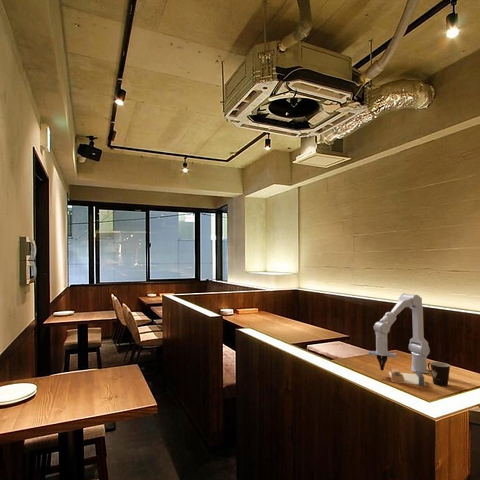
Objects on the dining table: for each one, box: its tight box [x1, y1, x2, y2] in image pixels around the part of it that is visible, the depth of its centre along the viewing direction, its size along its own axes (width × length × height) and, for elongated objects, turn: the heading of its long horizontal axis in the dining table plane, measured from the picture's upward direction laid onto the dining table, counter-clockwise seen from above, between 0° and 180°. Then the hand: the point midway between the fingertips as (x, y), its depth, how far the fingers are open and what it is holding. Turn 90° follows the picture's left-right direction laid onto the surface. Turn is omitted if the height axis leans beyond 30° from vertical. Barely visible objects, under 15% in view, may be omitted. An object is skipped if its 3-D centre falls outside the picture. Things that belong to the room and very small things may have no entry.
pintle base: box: [388, 371, 427, 386], centre depth 181 cm, size 16×16×4 cm
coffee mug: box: [427, 361, 451, 388], centre depth 174 cm, size 12×9×10 cm
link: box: [390, 367, 404, 383], centre depth 182 cm, size 15×5×2 cm, turn 162°
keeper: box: [415, 371, 425, 387], centre depth 174 cm, size 9×2×4 cm, turn 162°
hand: (381, 369), depth 185 cm, fingers closed
